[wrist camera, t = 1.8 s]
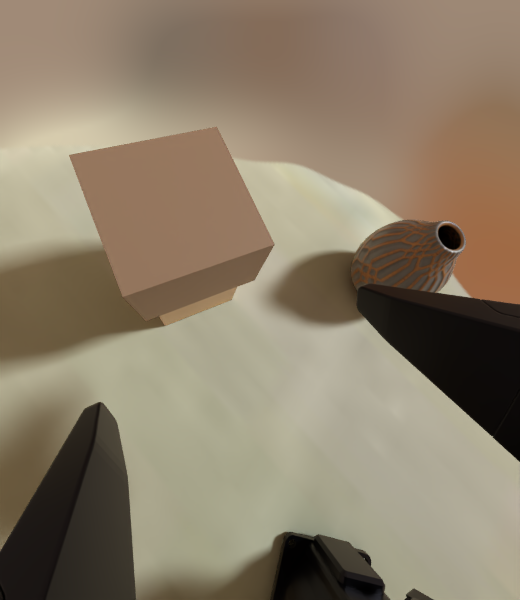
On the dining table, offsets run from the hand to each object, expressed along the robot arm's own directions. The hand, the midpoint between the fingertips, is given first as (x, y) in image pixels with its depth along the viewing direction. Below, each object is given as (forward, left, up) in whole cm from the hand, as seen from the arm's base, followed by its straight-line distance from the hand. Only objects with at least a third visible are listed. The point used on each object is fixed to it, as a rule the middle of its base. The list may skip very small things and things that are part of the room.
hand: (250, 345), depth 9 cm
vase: (+12, -11, -13) cm, 21 cm away
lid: (+5, +5, -7) cm, 10 cm away
